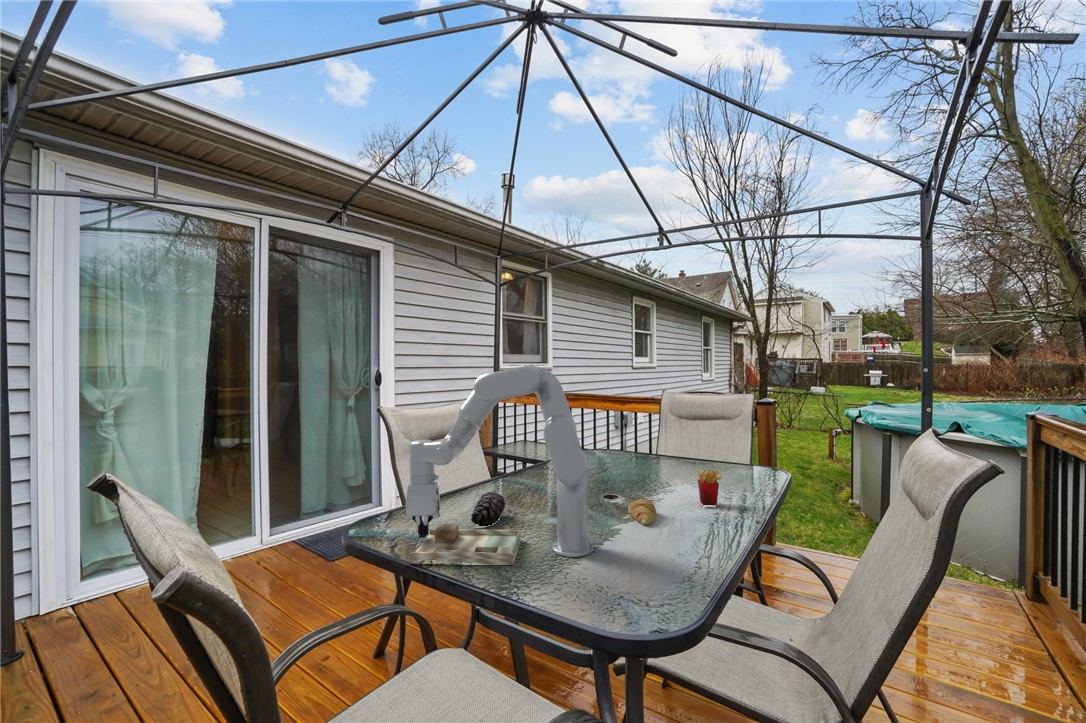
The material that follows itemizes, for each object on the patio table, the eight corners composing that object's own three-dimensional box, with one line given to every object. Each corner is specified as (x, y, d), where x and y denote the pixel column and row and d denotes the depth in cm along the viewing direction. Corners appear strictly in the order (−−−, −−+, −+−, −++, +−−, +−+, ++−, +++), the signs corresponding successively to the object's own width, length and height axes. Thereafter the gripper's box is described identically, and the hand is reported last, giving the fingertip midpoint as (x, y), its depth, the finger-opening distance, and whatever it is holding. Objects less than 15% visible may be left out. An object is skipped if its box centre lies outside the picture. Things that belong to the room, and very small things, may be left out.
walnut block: (458, 536, 156) (458, 524, 156) (453, 543, 150) (453, 530, 150) (440, 536, 156) (440, 523, 156) (434, 543, 150) (434, 530, 150)
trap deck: (520, 540, 156) (520, 530, 156) (513, 566, 137) (513, 553, 137) (430, 539, 158) (430, 529, 158) (410, 564, 139) (410, 552, 139)
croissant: (654, 537, 167) (665, 517, 167) (628, 523, 168) (639, 503, 167) (645, 516, 188) (655, 498, 188) (622, 504, 189) (632, 486, 188)
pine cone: (467, 530, 167) (467, 501, 167) (481, 513, 185) (481, 487, 185) (496, 531, 166) (496, 502, 165) (508, 514, 183) (507, 488, 183)
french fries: (697, 503, 194) (696, 466, 194) (718, 503, 193) (717, 466, 193) (703, 510, 185) (703, 471, 185) (725, 510, 184) (725, 471, 184)
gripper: (448, 476, 156) (449, 532, 157) (403, 476, 157) (404, 532, 158) (442, 482, 149) (443, 541, 149) (395, 481, 150) (396, 540, 150)
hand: (423, 536), depth 153 cm, fingers closed
